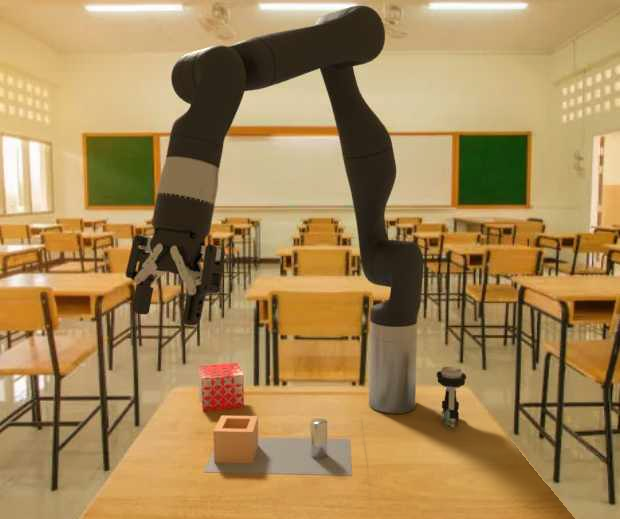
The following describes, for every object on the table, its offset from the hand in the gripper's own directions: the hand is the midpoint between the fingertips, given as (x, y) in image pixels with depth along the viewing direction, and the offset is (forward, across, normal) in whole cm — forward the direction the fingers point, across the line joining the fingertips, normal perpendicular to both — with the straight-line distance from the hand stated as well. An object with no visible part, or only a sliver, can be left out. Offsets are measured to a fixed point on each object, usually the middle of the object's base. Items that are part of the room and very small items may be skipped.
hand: (164, 319), depth 73 cm
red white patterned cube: (+19, +14, -37) cm, 44 cm away
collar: (+20, -2, -20) cm, 29 cm away
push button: (+13, -27, -51) cm, 59 cm away
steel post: (+20, -13, -26) cm, 35 cm away
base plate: (+21, -8, -24) cm, 32 cm away
